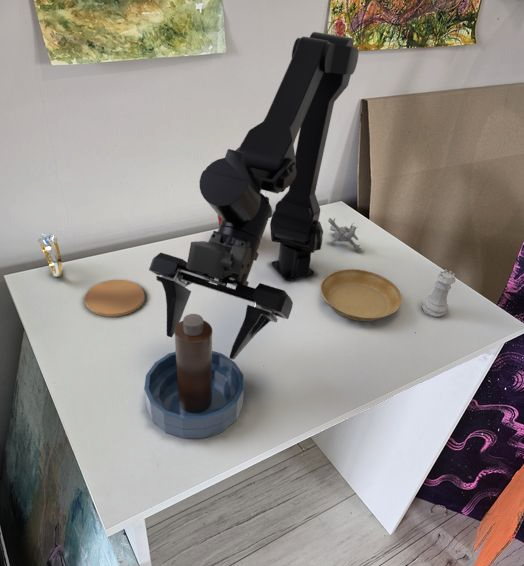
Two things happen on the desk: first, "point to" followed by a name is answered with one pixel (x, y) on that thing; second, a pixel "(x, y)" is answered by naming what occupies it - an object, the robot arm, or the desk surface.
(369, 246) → the desk surface
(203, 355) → the bottle
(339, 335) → the desk surface
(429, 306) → the rook chess piece
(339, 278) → the plant saucer
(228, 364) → the bowl
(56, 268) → the ring
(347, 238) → the gray branched figurine
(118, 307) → the cork coaster
